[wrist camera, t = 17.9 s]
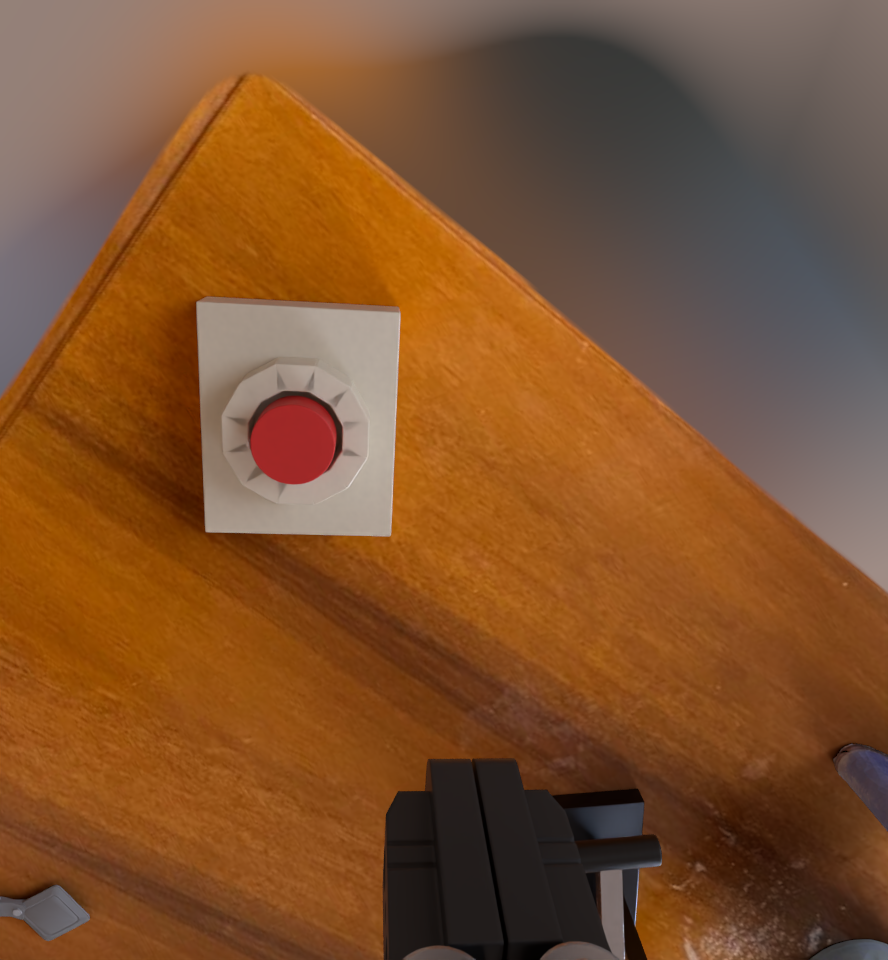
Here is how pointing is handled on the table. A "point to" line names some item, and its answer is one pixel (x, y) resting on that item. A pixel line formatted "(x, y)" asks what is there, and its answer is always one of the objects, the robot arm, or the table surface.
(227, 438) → the button box
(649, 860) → the lever
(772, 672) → the table surface
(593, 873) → the bracket
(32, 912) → the key chain
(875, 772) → the blue squeeze pouch
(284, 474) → the button
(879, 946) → the grey hollow tapered cylinder
